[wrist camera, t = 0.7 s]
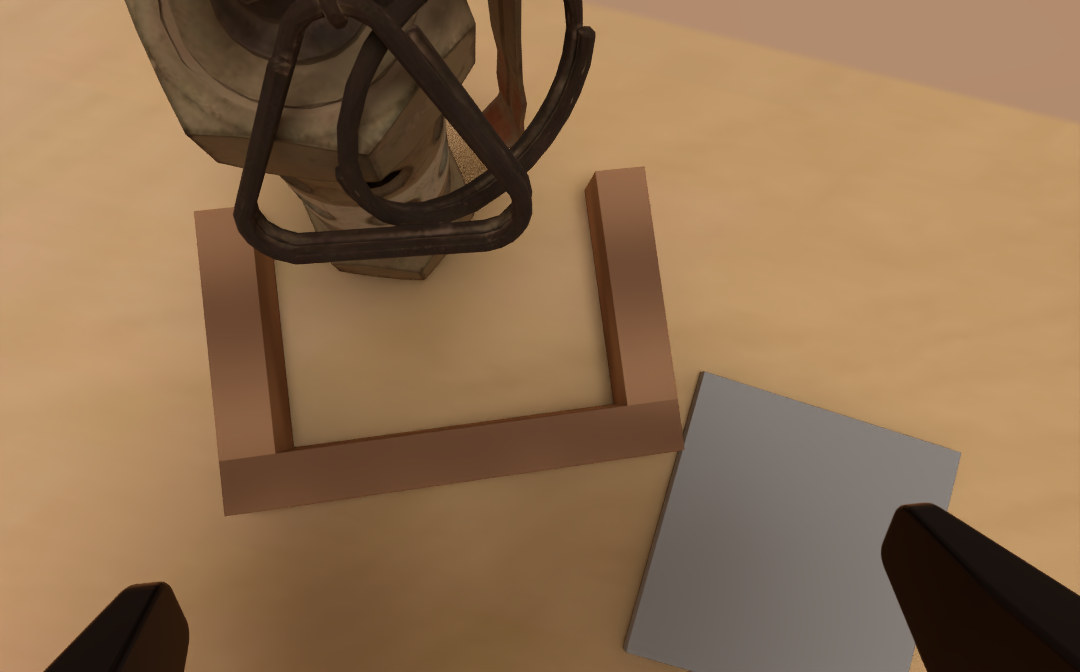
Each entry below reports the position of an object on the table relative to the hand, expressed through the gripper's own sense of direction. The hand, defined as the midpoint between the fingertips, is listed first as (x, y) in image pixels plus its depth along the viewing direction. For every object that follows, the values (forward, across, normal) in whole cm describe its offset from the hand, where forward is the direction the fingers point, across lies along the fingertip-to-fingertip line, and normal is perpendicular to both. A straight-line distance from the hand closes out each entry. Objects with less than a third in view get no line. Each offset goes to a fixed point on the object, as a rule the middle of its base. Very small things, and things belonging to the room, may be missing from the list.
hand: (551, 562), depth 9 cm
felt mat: (+8, -9, +11) cm, 17 cm away
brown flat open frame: (+13, +2, +4) cm, 14 cm away
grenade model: (+15, +2, +2) cm, 16 cm away
